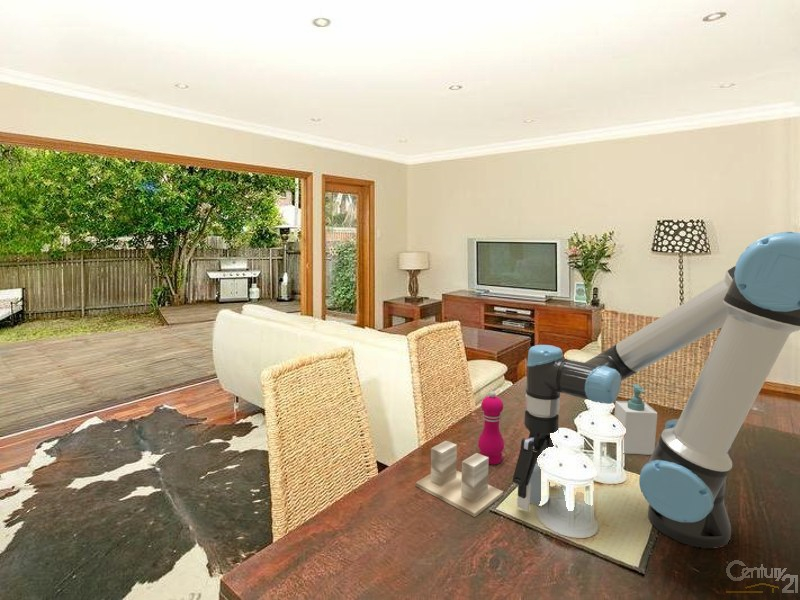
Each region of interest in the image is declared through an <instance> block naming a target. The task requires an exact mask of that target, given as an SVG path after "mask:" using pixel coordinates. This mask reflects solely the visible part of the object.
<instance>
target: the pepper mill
mask: <svg viewBox="0 0 800 600" xmlns="http://www.w3.org/2000/svg"><path fill="white" fill-rule="evenodd" d="M496 394H497V393H496V391H493V390H492V391H490V392H489V394H488V396H485V397H484V398H483V399H482V400H481V410H482V411H483V413H482V418H483V420H484V421H483V422H484V427H483V430H482V431H481V434H480V435H479V438H478V440H477V441H478V443H477V446H478V448H479V454H481V455H483V456H486V457H488V458H489V465H498V464H500V463H501V462H502V461H503V453H502V452H503V451H504V449H505V441H504V438H503V435H502V433H501V429H500V421H501V420H502V414H501V413H502V412H503V410H504V403H503V401H502V399H500V397H498V396H497V395H496Z"/></svg>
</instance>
